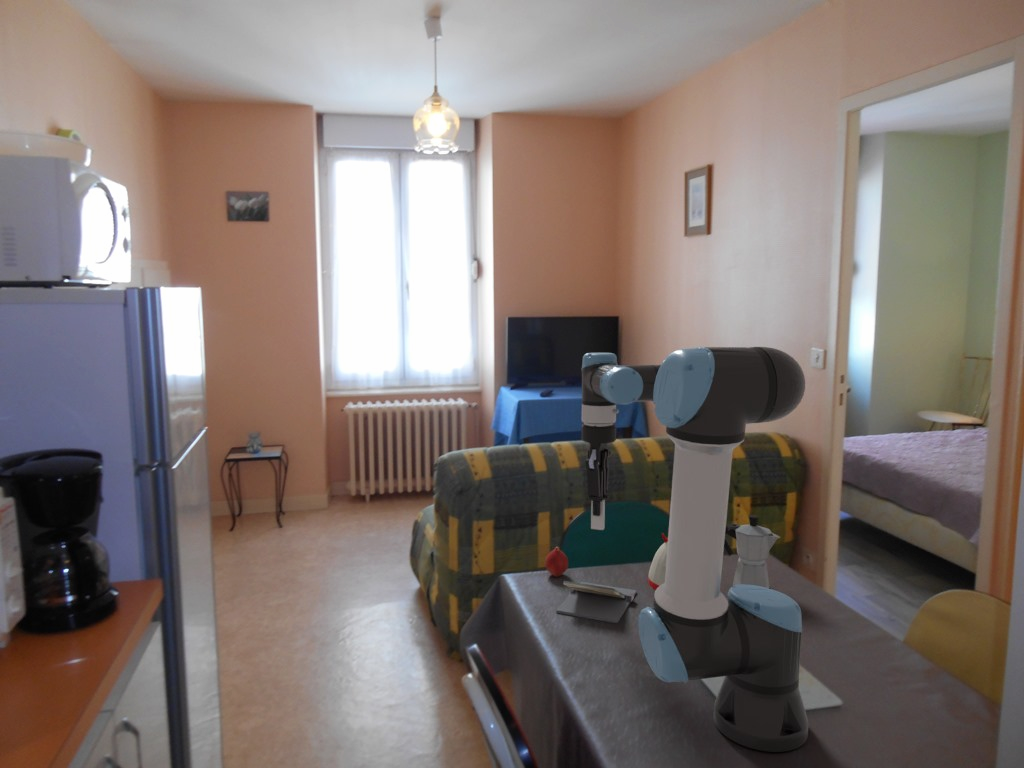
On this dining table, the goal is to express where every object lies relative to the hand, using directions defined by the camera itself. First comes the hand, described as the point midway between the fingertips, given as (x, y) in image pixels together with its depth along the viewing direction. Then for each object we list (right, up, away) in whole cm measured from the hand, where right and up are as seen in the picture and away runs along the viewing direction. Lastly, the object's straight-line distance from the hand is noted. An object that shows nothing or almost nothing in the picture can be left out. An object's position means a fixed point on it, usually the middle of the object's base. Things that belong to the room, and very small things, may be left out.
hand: (597, 528), depth 159 cm
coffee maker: (+38, -18, +16) cm, 45 cm away
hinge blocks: (+2, -18, +10) cm, 20 cm away
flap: (0, -15, +5) cm, 15 cm away
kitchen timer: (+22, -18, +18) cm, 33 cm away
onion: (-8, -17, +23) cm, 29 cm away
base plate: (+1, -19, +7) cm, 20 cm away
